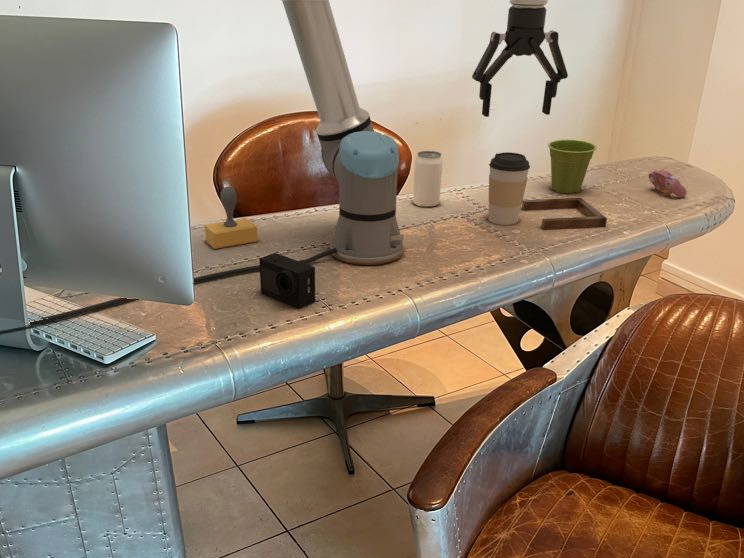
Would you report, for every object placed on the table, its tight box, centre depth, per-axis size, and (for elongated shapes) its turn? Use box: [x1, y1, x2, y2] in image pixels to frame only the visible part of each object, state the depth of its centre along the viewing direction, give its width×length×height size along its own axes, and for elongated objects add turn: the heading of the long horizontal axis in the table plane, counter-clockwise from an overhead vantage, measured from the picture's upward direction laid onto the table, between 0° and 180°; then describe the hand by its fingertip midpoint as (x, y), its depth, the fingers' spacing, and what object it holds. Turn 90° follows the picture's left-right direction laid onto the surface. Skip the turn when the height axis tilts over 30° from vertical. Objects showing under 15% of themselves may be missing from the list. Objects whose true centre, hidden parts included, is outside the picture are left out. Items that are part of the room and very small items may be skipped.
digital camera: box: [258, 252, 316, 309], centre depth 149 cm, size 10×5×7 cm, turn 47°
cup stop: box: [521, 197, 608, 230], centre depth 189 cm, size 15×15×2 cm
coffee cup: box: [487, 151, 531, 226], centre depth 184 cm, size 9×9×15 cm
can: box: [412, 150, 443, 208], centre depth 195 cm, size 6×6×12 cm
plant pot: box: [547, 139, 598, 195], centre depth 204 cm, size 12×12×11 cm
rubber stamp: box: [204, 186, 258, 250], centre depth 172 cm, size 10×6×12 cm, turn 117°
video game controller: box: [648, 168, 688, 199], centre depth 204 cm, size 10×5×7 cm, turn 17°
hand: (515, 114), depth 175 cm, fingers open, 13 cm apart
